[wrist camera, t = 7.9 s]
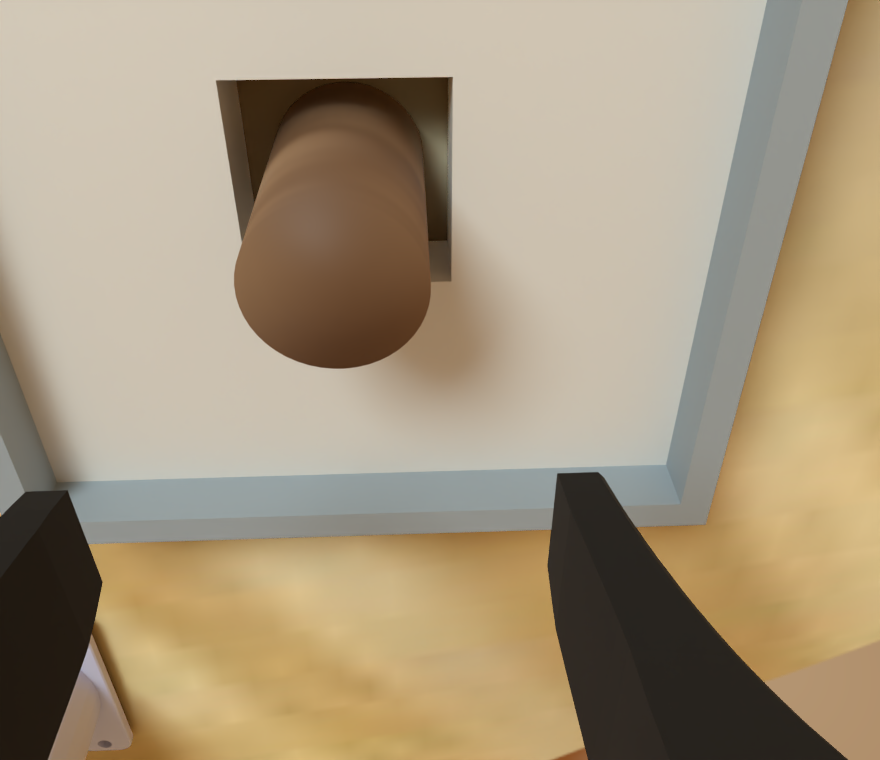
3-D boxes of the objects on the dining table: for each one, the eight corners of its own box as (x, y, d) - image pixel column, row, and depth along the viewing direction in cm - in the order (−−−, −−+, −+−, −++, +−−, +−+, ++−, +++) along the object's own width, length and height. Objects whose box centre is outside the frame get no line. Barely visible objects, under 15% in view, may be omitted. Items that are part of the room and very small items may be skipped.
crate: (59, 455, 24) (15, 546, 22) (-247, -371, 14) (-414, -403, 11) (671, 438, 25) (705, 525, 22) (846, -370, 14) (956, -398, 11)
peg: (287, 227, 20) (254, 374, 16) (262, 87, 18) (215, 206, 14) (426, 218, 20) (436, 362, 16) (418, 77, 18) (425, 192, 14)
